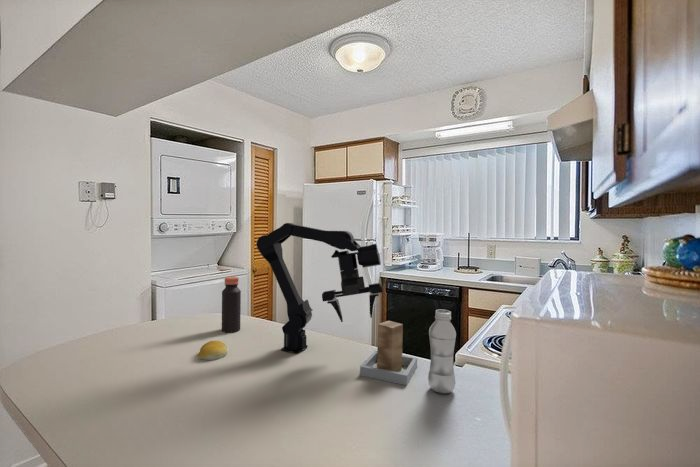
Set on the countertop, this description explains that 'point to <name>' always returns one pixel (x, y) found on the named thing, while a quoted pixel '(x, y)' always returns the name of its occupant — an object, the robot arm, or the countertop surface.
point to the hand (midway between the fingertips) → (356, 319)
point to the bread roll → (213, 350)
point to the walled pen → (388, 375)
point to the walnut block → (390, 346)
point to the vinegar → (231, 306)
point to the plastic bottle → (442, 353)
